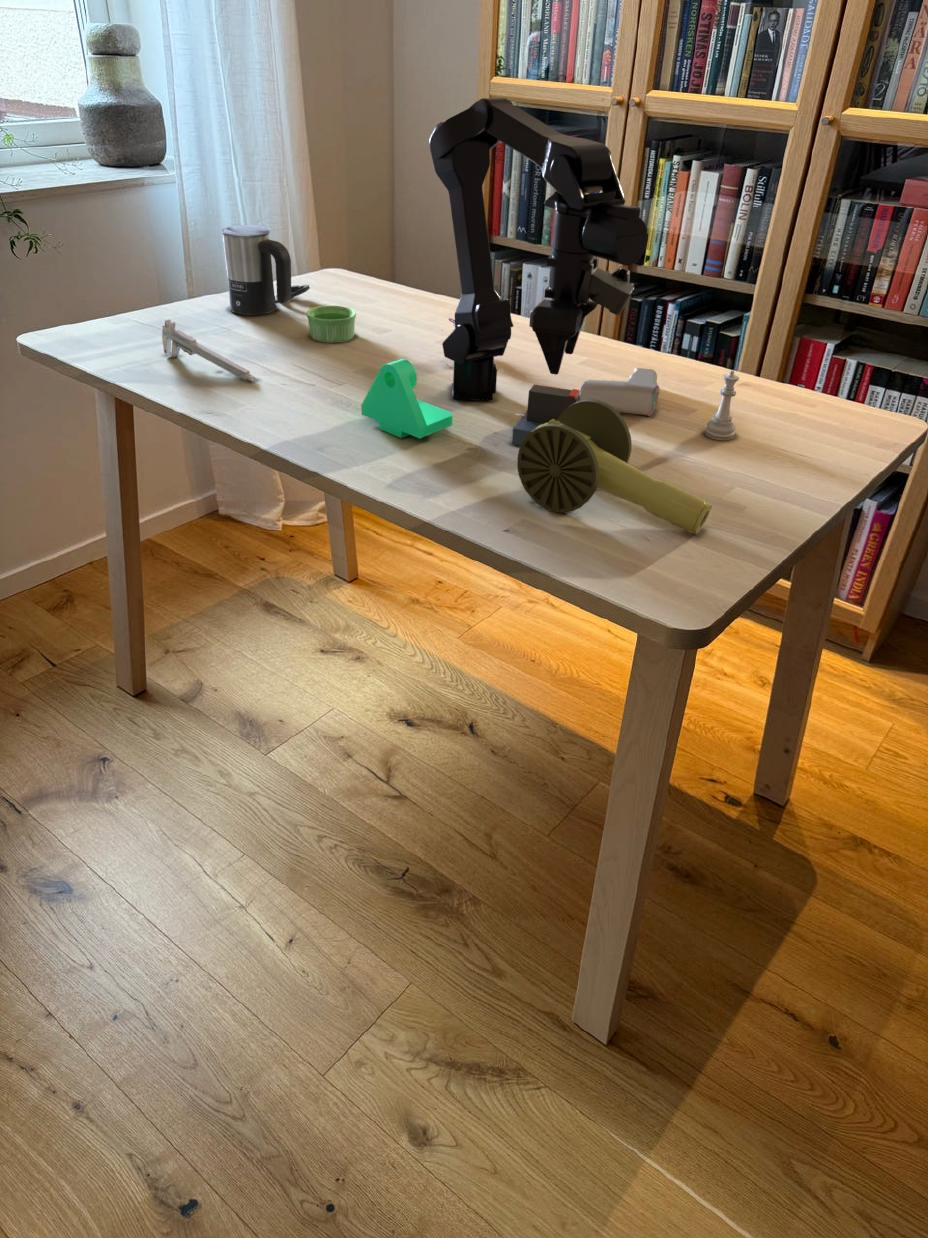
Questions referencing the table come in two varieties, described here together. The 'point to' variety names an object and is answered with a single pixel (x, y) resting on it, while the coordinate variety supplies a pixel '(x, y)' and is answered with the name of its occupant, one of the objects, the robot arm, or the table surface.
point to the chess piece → (723, 412)
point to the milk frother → (256, 270)
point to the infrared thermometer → (626, 392)
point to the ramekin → (331, 323)
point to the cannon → (597, 467)
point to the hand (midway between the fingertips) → (561, 363)
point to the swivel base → (523, 429)
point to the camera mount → (402, 403)
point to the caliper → (198, 350)
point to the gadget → (549, 402)
